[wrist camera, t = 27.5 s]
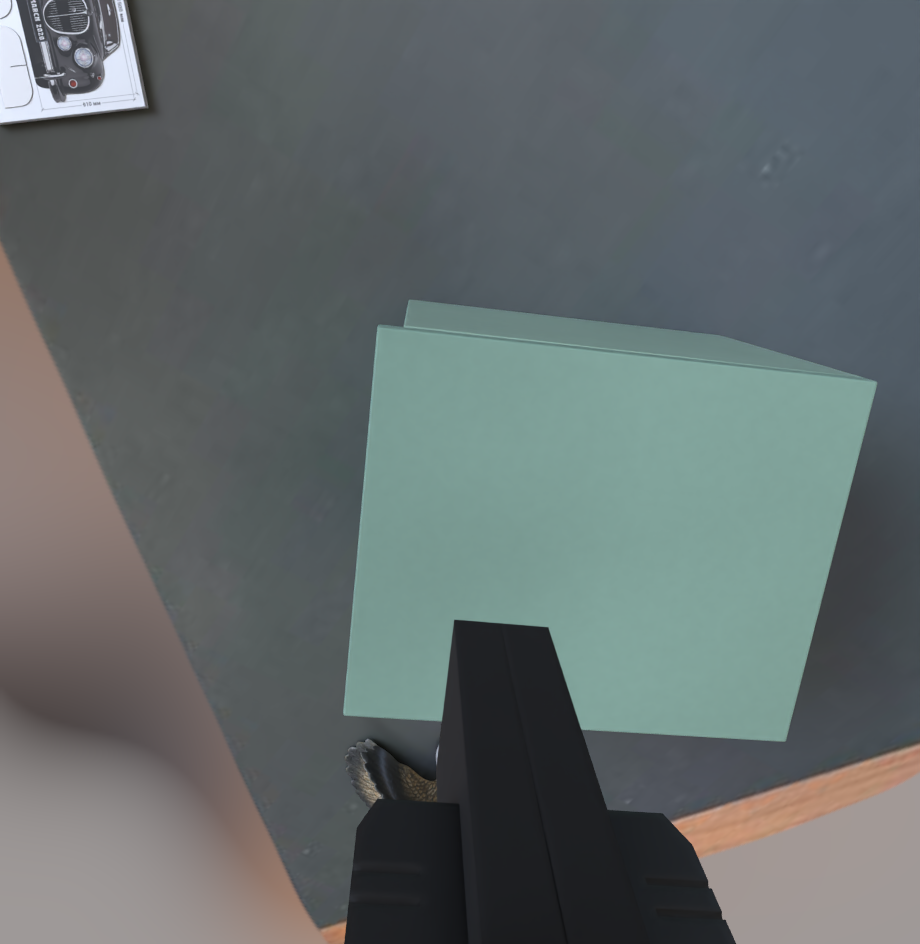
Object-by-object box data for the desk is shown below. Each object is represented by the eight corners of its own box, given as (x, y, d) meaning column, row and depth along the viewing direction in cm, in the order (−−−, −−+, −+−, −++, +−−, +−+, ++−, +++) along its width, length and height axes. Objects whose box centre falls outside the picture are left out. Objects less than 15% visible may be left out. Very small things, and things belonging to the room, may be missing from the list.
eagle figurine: (525, 713, 44) (363, 704, 41) (543, 853, 39) (363, 852, 37) (480, 764, 49) (334, 758, 47) (492, 892, 45) (331, 893, 42)
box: (383, 561, 42) (367, 697, 30) (408, 299, 39) (403, 325, 26) (671, 586, 44) (775, 728, 31) (721, 335, 40) (863, 377, 27)
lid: (344, 703, 29) (342, 716, 28) (377, 323, 25) (377, 326, 25) (775, 729, 31) (786, 742, 30) (864, 377, 27) (878, 381, 26)
